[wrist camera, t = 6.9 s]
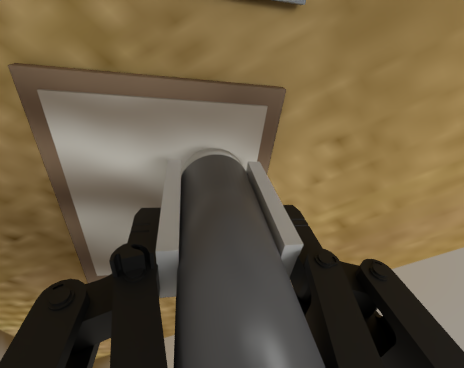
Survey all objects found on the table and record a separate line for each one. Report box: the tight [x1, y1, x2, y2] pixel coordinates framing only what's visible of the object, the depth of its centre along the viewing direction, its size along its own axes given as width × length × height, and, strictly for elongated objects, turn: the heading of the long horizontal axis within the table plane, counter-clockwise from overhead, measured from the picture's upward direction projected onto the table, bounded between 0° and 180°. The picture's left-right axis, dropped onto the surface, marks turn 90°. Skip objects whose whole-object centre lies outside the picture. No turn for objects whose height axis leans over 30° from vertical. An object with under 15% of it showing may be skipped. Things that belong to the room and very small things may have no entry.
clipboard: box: [8, 63, 286, 283], centre depth 17 cm, size 18×14×2 cm
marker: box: [174, 148, 325, 368], centre depth 10 cm, size 4×4×12 cm
